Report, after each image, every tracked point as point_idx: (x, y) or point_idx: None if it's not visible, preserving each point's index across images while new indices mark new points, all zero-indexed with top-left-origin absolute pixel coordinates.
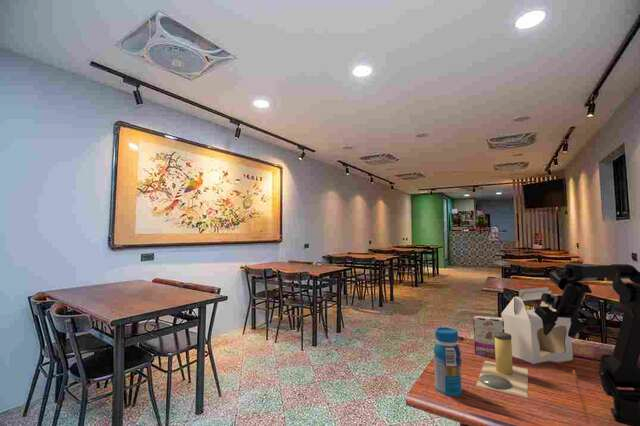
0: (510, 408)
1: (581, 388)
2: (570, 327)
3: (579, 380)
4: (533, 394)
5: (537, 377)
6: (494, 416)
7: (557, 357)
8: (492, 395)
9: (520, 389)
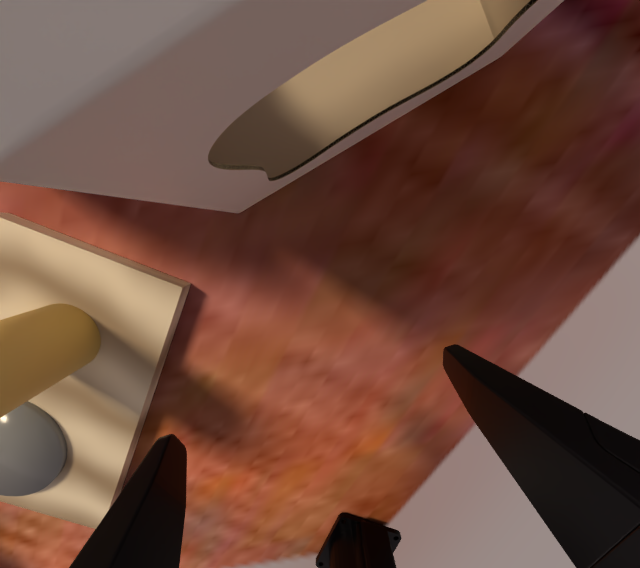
0: (55, 547)
1: (339, 388)
2: (529, 431)
3: (374, 320)
4: None
5: (215, 320)
6: None
7: (399, 112)
8: None
9: (94, 481)
